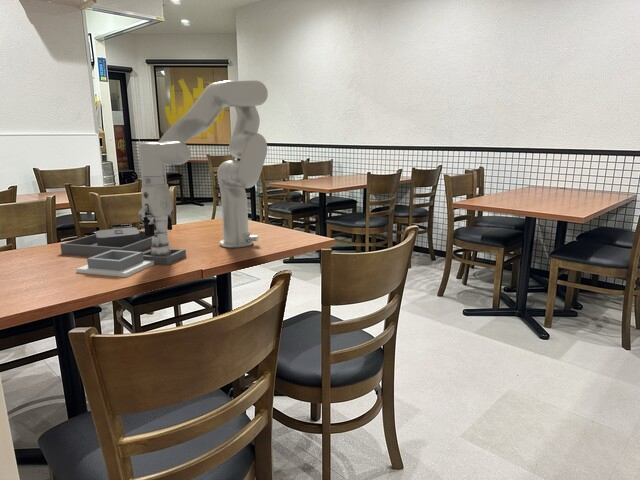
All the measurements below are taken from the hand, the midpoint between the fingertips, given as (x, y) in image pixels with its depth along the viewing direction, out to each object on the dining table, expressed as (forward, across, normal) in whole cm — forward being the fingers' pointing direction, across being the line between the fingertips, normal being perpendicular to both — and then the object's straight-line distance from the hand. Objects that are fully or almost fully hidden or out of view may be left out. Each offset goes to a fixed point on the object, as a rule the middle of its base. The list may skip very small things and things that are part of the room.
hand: (159, 232), depth 148 cm
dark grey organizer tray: (+9, +11, +27) cm, 31 cm away
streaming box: (+9, +12, +27) cm, 30 cm away
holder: (+9, 0, 0) cm, 9 cm away
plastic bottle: (+10, 0, 0) cm, 10 cm away
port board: (+9, -12, +8) cm, 17 cm away
